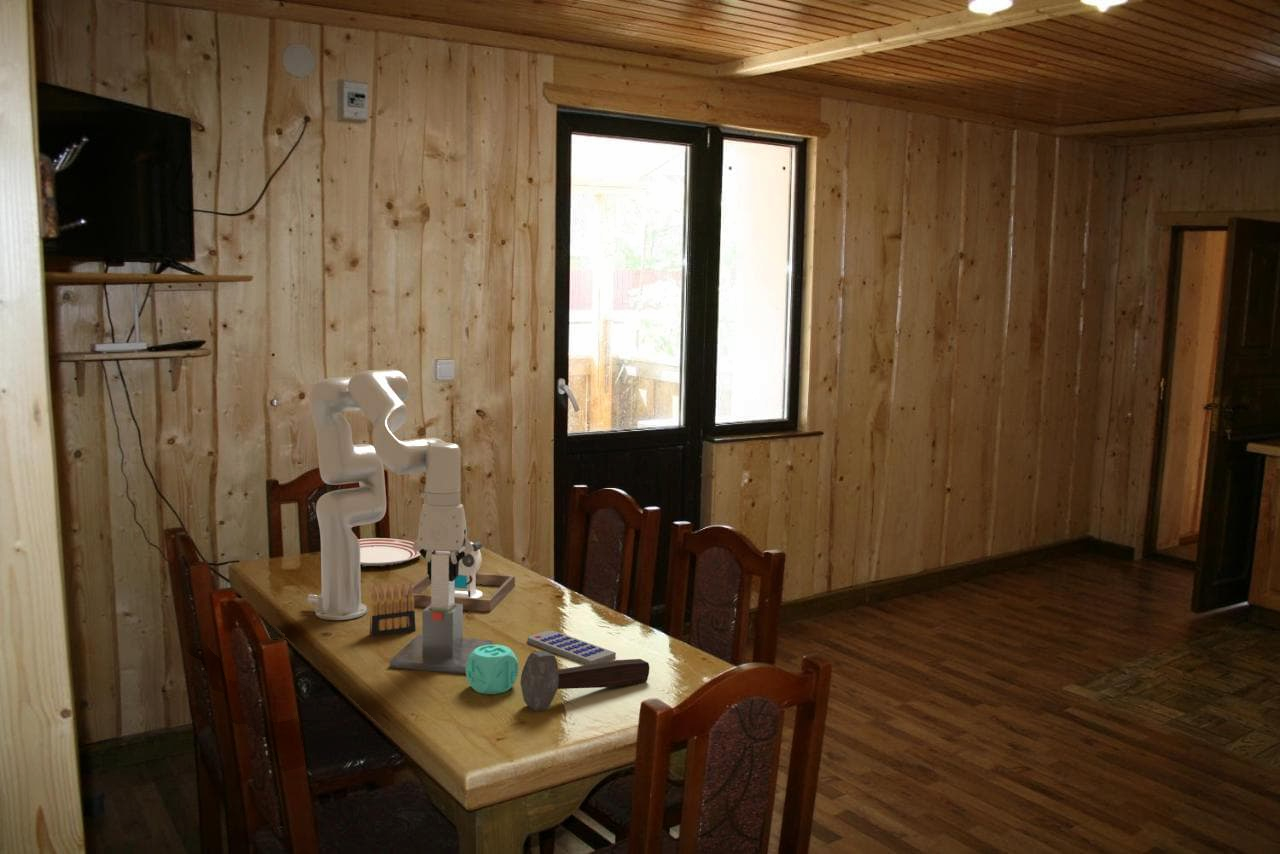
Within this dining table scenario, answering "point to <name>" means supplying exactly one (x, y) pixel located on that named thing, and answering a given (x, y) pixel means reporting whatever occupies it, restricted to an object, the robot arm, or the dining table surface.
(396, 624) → the ammunition clip
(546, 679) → the hammer
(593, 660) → the remote control
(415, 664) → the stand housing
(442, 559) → the column
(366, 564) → the dinner plate
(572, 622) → the dining table surface
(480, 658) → the decorative dice
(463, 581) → the panda figurine
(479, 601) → the frame
